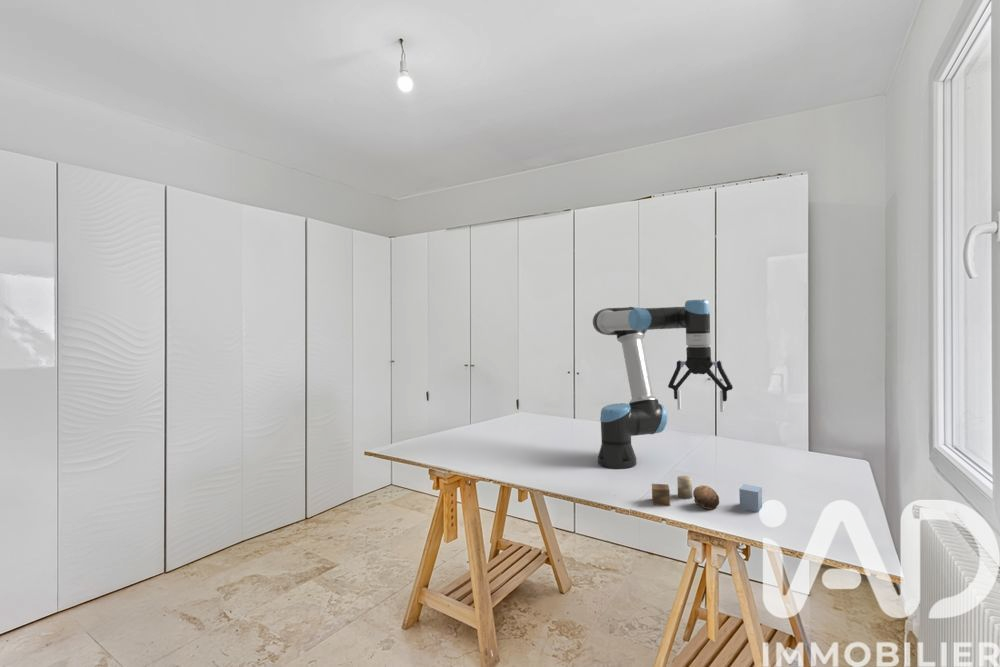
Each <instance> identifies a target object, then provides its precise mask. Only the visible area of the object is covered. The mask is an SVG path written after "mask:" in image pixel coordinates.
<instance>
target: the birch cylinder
mask: <svg viewBox="0 0 1000 667" xmlns="http://www.w3.org/2000/svg"><path fill="white" fill-rule="evenodd" d="M676 479H677V480H676V481H677V496H678V498H680V499H684V500H691V499H693V498H694V496H693V478H692V477H691V476H688V475H679V476H677V478H676Z"/></svg>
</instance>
